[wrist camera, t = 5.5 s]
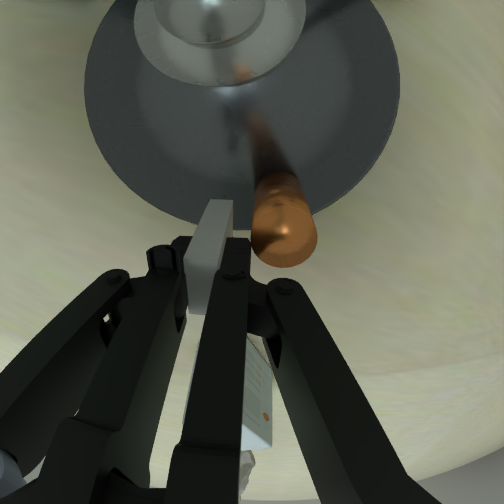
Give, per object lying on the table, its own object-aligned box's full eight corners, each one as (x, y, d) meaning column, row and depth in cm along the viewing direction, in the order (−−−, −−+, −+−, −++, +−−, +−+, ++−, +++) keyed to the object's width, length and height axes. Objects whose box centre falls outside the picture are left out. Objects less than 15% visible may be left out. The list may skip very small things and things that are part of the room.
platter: (56, 122, 17) (-13, 145, 11) (216, -85, 9) (195, -139, 2) (256, 267, 23) (252, 339, 17) (438, 83, 15) (508, 91, 8)
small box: (197, 340, 31) (178, 423, 22) (242, 327, 30) (234, 417, 21) (232, 379, 35) (224, 453, 26) (273, 369, 33) (273, 448, 24)
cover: (136, 45, 13) (83, 33, 8) (218, -46, 10) (199, -92, 5) (237, 113, 16) (222, 123, 11) (325, 20, 12) (352, -10, 7)
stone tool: (240, 413, 40) (232, 503, 27) (262, 417, 40) (258, 505, 27) (217, 435, 45) (208, 509, 32) (236, 439, 45) (230, 512, 33)
